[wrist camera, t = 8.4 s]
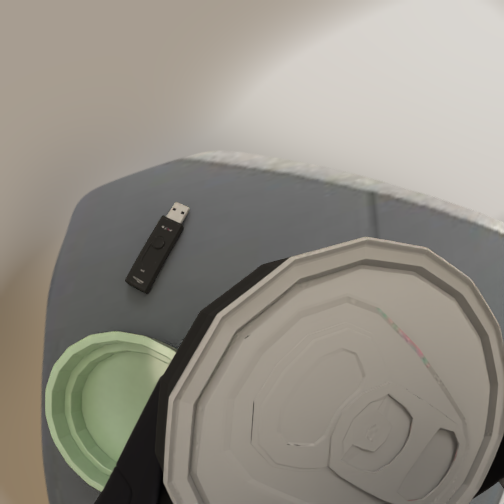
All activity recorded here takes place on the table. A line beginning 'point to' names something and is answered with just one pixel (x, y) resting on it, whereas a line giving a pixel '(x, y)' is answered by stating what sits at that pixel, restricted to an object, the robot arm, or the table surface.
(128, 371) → the bowl
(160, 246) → the usb flash drive
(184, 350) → the beverage can
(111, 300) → the table surface
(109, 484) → the robot arm
